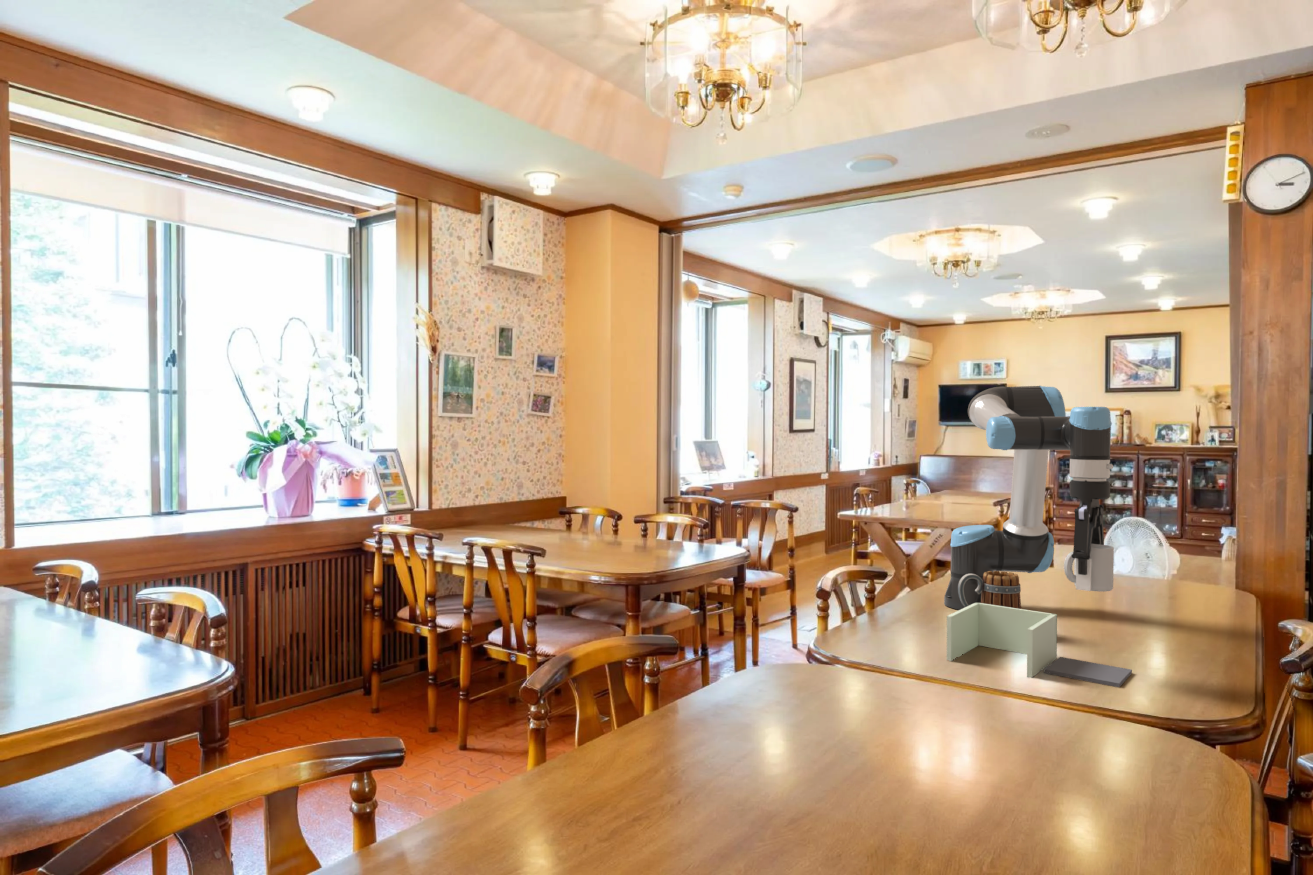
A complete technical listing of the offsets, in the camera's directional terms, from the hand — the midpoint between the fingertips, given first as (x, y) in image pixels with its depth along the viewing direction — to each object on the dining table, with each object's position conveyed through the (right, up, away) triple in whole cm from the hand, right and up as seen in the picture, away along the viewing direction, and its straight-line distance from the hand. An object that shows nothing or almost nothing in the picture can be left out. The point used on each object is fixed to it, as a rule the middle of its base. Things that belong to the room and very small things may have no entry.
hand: (1088, 586), depth 168 cm
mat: (0, -18, 0) cm, 18 cm away
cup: (-1, 0, 0) cm, 1 cm away
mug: (-7, -18, +33) cm, 38 cm away
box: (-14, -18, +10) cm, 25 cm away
